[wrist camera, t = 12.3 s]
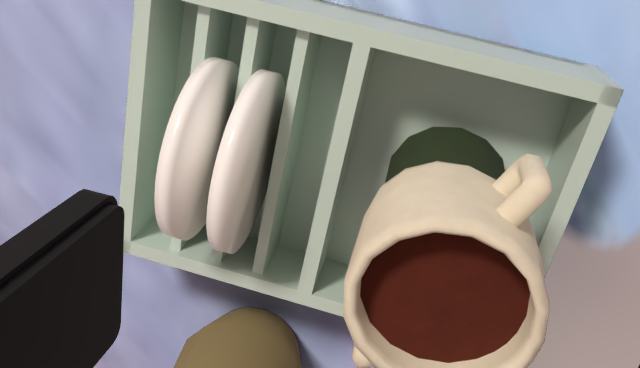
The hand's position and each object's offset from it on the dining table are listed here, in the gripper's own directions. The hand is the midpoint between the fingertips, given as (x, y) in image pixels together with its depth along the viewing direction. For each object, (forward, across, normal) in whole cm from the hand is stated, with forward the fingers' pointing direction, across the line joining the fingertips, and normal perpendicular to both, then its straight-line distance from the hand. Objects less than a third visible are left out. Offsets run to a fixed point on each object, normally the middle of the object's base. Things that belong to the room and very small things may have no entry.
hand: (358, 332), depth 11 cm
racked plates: (+22, +8, +5) cm, 24 cm away
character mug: (+22, -2, +6) cm, 23 cm away
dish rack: (+23, +3, +6) cm, 24 cm away
